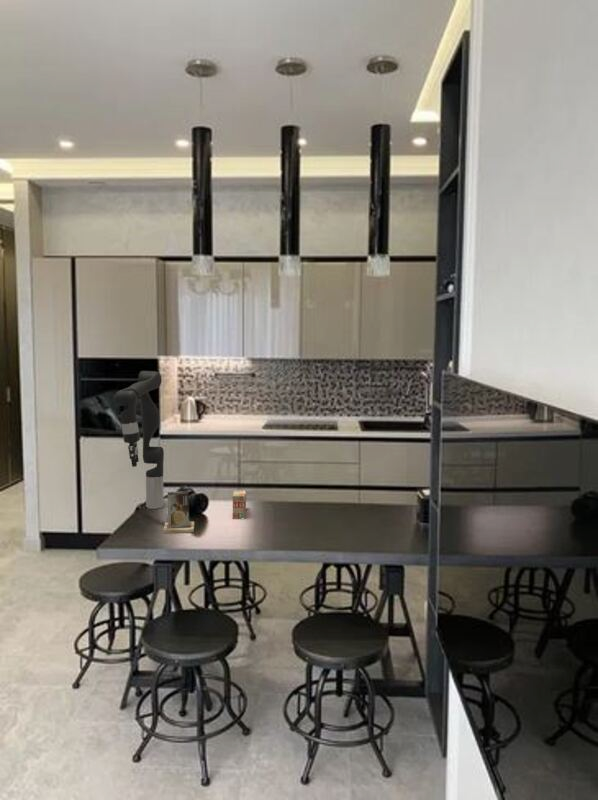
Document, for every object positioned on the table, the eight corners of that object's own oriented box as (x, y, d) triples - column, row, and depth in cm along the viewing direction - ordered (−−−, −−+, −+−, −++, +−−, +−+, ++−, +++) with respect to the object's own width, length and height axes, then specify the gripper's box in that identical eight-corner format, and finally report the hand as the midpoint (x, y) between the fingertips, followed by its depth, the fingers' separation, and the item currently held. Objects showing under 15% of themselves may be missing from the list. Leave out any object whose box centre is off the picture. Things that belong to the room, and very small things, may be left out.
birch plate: (165, 525, 301) (165, 522, 301) (194, 524, 303) (194, 521, 303) (163, 533, 288) (163, 530, 287) (193, 532, 290) (193, 529, 290)
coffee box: (186, 522, 300) (186, 490, 299) (189, 526, 295) (189, 493, 293) (167, 524, 297) (167, 492, 295) (170, 528, 291) (170, 494, 290)
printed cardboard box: (234, 508, 335) (234, 486, 334) (246, 508, 336) (246, 486, 335) (232, 519, 314) (232, 495, 313) (244, 519, 314) (244, 495, 313)
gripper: (137, 433, 289) (142, 466, 291) (140, 427, 303) (144, 459, 305) (120, 435, 288) (125, 469, 290) (124, 429, 302) (129, 461, 304)
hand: (135, 464), depth 298 cm, fingers open, 8 cm apart
